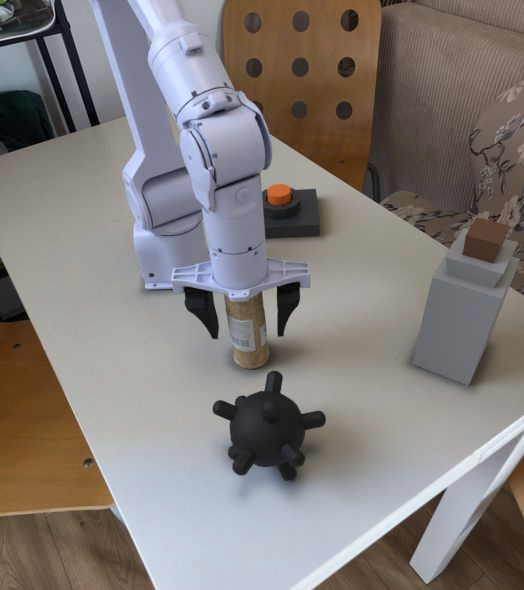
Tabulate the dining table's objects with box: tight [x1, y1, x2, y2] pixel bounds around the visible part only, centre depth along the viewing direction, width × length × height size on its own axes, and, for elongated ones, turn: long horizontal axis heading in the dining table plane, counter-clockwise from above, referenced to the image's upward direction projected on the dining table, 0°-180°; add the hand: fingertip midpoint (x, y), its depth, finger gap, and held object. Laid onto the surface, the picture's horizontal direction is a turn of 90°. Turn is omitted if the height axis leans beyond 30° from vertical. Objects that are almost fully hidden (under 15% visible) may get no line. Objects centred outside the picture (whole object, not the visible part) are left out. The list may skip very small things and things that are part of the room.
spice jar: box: [223, 291, 270, 370], centre depth 59 cm, size 5×5×14 cm
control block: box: [262, 187, 321, 240], centre depth 82 cm, size 12×10×4 cm
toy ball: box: [211, 370, 327, 482], centre depth 52 cm, size 11×11×12 cm
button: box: [267, 183, 291, 205], centre depth 80 cm, size 4×4×2 cm
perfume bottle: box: [411, 216, 521, 386], centre depth 56 cm, size 7×7×18 cm
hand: (248, 331), depth 61 cm, fingers open, 7 cm apart
